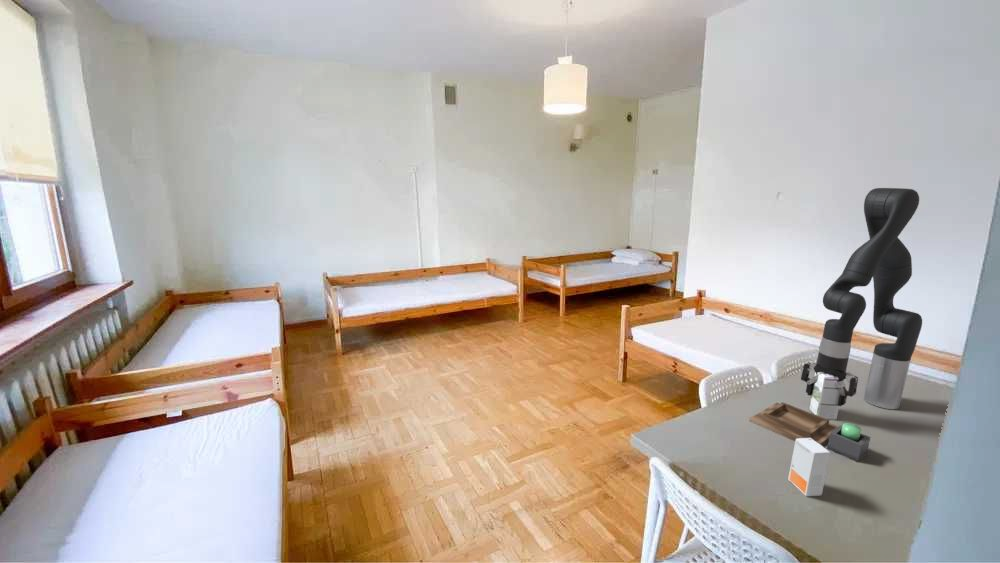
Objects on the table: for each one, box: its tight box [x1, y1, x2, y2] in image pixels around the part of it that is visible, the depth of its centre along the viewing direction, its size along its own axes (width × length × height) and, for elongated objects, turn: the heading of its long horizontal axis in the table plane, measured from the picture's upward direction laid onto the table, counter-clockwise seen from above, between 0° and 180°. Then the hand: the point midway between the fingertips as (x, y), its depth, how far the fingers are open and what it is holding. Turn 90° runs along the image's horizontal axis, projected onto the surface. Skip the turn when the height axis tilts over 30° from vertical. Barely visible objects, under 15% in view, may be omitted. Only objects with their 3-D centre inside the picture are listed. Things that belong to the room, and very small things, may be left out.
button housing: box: [826, 425, 872, 463], centre depth 118 cm, size 7×7×5 cm
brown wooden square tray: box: [749, 402, 840, 446], centre depth 131 cm, size 18×18×3 cm
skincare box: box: [787, 438, 831, 497], centre depth 102 cm, size 6×4×12 cm
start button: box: [841, 422, 862, 441], centre depth 117 cm, size 4×4×3 cm
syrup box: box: [808, 371, 845, 421], centre depth 136 cm, size 6×6×14 cm
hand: (824, 399), depth 136 cm, fingers closed on syrup box, 8 cm apart
